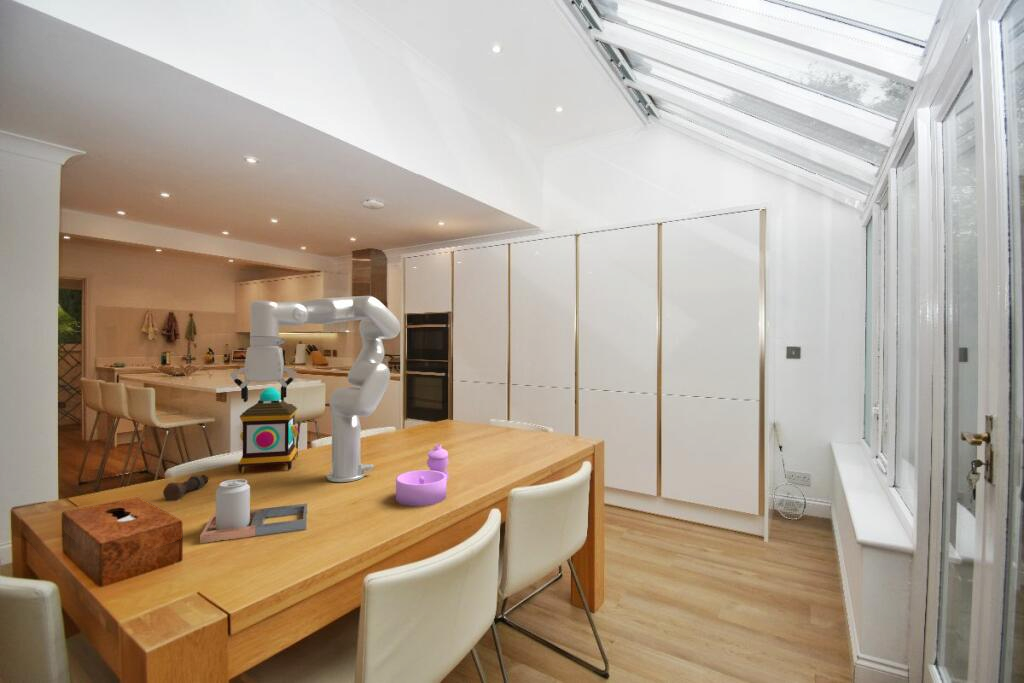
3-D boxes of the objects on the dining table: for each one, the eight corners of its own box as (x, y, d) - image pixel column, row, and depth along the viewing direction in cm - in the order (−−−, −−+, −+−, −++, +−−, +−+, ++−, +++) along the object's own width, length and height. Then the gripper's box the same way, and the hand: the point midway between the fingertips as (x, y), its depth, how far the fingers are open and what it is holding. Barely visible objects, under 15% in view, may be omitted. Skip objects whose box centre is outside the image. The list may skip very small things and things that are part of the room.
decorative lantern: (246, 461, 183) (247, 385, 183) (301, 457, 189) (302, 384, 189) (232, 475, 164) (233, 390, 164) (294, 471, 170) (295, 389, 170)
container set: (435, 508, 135) (435, 463, 135) (387, 504, 138) (387, 459, 138) (462, 482, 160) (463, 444, 160) (421, 479, 163) (421, 441, 163)
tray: (307, 510, 132) (307, 503, 132) (306, 529, 120) (306, 521, 119) (212, 521, 124) (212, 514, 124) (200, 543, 111) (200, 535, 111)
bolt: (206, 490, 154) (173, 505, 139) (193, 482, 154) (159, 496, 139) (215, 475, 154) (184, 488, 139) (202, 467, 154) (169, 479, 139)
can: (214, 536, 114) (214, 488, 114) (217, 525, 121) (217, 479, 121) (249, 531, 118) (249, 484, 118) (250, 521, 124) (250, 476, 124)
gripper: (297, 342, 144) (297, 398, 144) (233, 342, 138) (232, 400, 138) (296, 343, 137) (296, 401, 138) (228, 342, 131) (228, 403, 131)
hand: (264, 400), depth 138 cm, fingers open, 9 cm apart
